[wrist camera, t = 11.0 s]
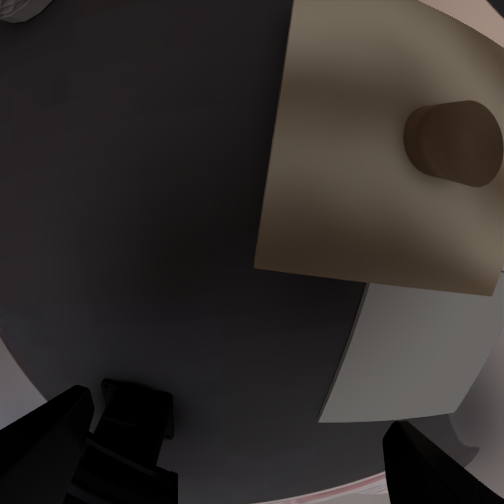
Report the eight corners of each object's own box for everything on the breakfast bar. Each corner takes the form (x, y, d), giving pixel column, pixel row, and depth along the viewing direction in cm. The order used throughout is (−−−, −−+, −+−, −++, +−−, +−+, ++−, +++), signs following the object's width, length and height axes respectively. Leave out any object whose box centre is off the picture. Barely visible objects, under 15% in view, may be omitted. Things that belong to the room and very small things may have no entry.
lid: (474, 282, 16) (523, 323, 11) (254, 252, 15) (253, 303, 10) (510, 70, 11) (567, 64, 6) (294, -16, 11) (309, -74, 6)
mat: (452, 408, 25) (454, 412, 25) (317, 417, 25) (318, 422, 24) (519, 274, 20) (523, 276, 19) (375, 248, 19) (378, 251, 19)
